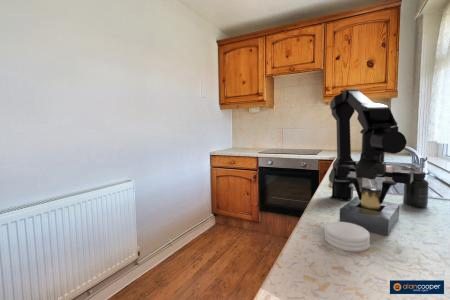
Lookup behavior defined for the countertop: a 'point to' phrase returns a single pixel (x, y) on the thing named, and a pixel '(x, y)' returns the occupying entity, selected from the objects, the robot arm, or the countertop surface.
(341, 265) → the countertop surface
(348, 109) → the robot arm
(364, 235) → the white flat disc stack
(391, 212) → the housing
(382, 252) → the countertop surface
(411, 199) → the supplement bottle
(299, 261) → the countertop surface
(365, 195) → the tan cylinder
